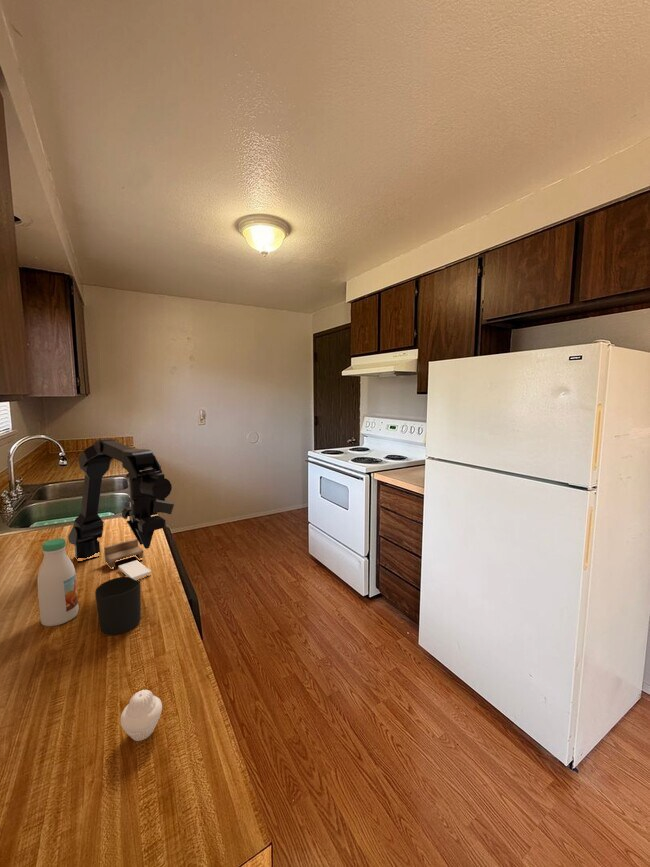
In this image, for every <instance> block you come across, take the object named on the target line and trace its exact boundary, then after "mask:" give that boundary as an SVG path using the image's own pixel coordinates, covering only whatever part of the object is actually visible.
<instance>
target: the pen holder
mask: <svg viewBox="0 0 650 867" xmlns="http://www.w3.org/2000/svg"><path fill="white" fill-rule="evenodd" d="M94 592H95V593H94V594H95V600H96V609H97V617H98V618H97V619H98V624H99V629H100V633H102V634H103V635H105V636H119V635H123V634H124V633H125V634H126V633H128V632H130V631H132V630H134V628H136V627H137V626H138V625H139V623H140V621H141V620H142V619H141V618H142V616H141V615H142V612H141V609H142V608H141V606H142V604H141V601H142V600H141V598H142V597H141V595H142V594H141V580H138V581H136V580H134V579H132V578H130V577H126V576H120V577H114V578H113V579H109V580H107V581H105V582H102V583H101V584H100V585H98V586H97V588H96V589H95V591H94Z"/></svg>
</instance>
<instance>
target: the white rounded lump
mask: <svg viewBox="0 0 650 867" xmlns="http://www.w3.org/2000/svg"><path fill="white" fill-rule="evenodd" d="M162 712H163V703H162V700H161V699H160V697H159V696H158V697H157V696H156V695H154V694H153V692H152V691H151V690H148V689H142V690H139V691H138V692H135V694H133V695H132V696H131V698H130V699H129V703H128V704H127V705H126V706H125V707H124V709H123V710H122V713H121V715H120V724H121V727H122V729H123V731H124V732H125V733H126V734H127V736H129V737H130V738H131V739H132V740H133V741H135V742H140V741H141V742H142V741H145V740H146V739H148V738H149V737H150V736H151V735H152V734H153V732H154V730H155V728H156V726H157V725H158V722H159V720H160V718H161V714H162Z"/></svg>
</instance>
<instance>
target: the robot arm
mask: <svg viewBox="0 0 650 867" xmlns="http://www.w3.org/2000/svg"><path fill="white" fill-rule="evenodd" d="M113 460H115V461H118V462H121V464H122V465H121V466H122V468H123V469H125V471H127V472H128V473H127V474H125V478H126V479H129V495H130V497H128V499H127V500H128V502H129V503H130V506H129V507H124V509H123V510H121V515H122V516H121V517H122V519H124V520H126V523H127V525H128V526H129V528H130V530H131V531H132V533H133V535H134V536H135V539H137V540H138V544H139V545H141V546H143V547H144V549H145V550H147V549H149V548H150V547H151V543H152V540H153V536H154V532H155V531H157V530H161V529H164V528H166V527H167V523H166V522H167V521H166V519H164V518H163V517H161V516H160V515H158V513H162V514H163V513H164V514H168V515H172V513H173V510H174V507H175V503H174V502H171V501H169V500H166V498H167V497H168V496H170V494H171V492H172V488H173V487H172V483H171V481H170V480H169V479H167V478H165V474H164V473H163V471H162V466H161V465H160V463H159V461H158V460H157V458H156V456H155V453H154V452H153V451H152V450H150V449H145V448H132V447H130V446H128V445H126V444H123V443H121V442H119V441H116V440H115V439H112V438H107V439H106V438H103V439H98V440H95V442H94V443H93V444H92V445H90V446H89V447H87V448H85V449H84V450H82V452H81V453H80V455H79V457H78V464H79V468H80V469H79V470H81V471H82V473H83V474H84V482H83V491H82V499H81V500H82V501H81V510H80V514H79V515H78V516H77V517H76V518H75V519H74V522H73V526H72V528H71V530H70V532H69V534H68V536H67V538H68V543H69V544H71V545H74V554H75V556H76V558H77V559H78V558H87V557H90V556H92V555H94V554H95V553H98V552H100V553H101V546H100V541H99V540H98V539H99V538H102V537H103V532H104V520H103V519H102V518H101V517H100V515H99V507H100V501H101V500H100V498H101V492H102V483H103V477H104V476H105V475H106V474H107V472H109V469H110V466H111V463H112V461H113ZM128 517H129V519H128Z"/></svg>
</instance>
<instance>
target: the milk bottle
mask: <svg viewBox="0 0 650 867" xmlns="http://www.w3.org/2000/svg"><path fill="white" fill-rule="evenodd" d="M66 543H67V541H66V539H64V538H53V539H49V540H46V541H44V542H43V543H42V546H41V548H42V553H43V560H42V563H41V565H40V567H39V570H38V573H37V597H38V606H39V608H38V609H39V618H40V623H41V625H43V626H44V627H55V626H60V625H62V624H65V623H67V622H69V621H72V620H73V619H74V618H75V617H76V616H77V615H78V614H79V599H78V598H79V597H78V586H77V585H78V583H77V577H76V576H77V575H76V569H75V566H74V563H73V562H72V561H71V559H70V558H69V556H68V554H67V552H66V548H67V546H66Z"/></svg>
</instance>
